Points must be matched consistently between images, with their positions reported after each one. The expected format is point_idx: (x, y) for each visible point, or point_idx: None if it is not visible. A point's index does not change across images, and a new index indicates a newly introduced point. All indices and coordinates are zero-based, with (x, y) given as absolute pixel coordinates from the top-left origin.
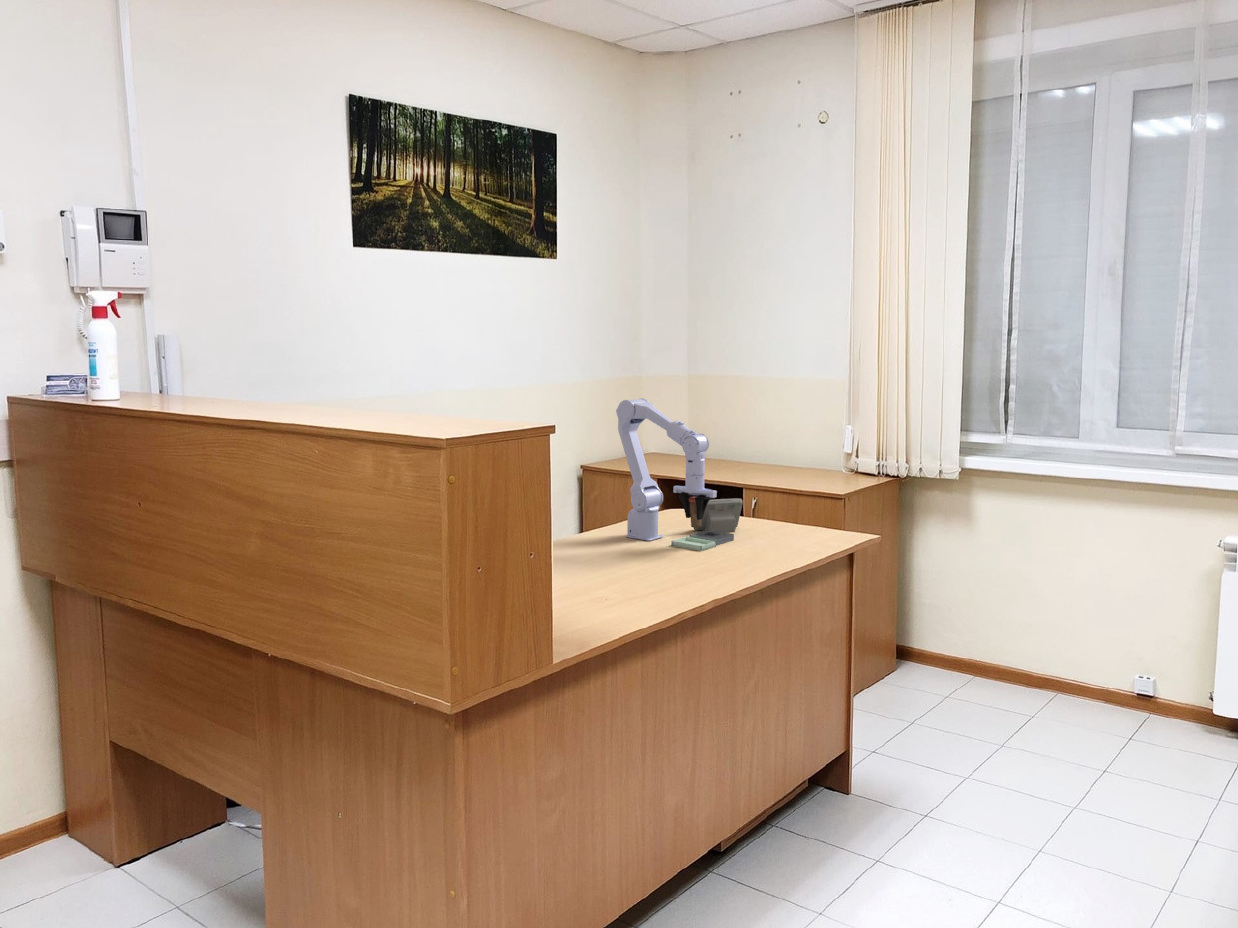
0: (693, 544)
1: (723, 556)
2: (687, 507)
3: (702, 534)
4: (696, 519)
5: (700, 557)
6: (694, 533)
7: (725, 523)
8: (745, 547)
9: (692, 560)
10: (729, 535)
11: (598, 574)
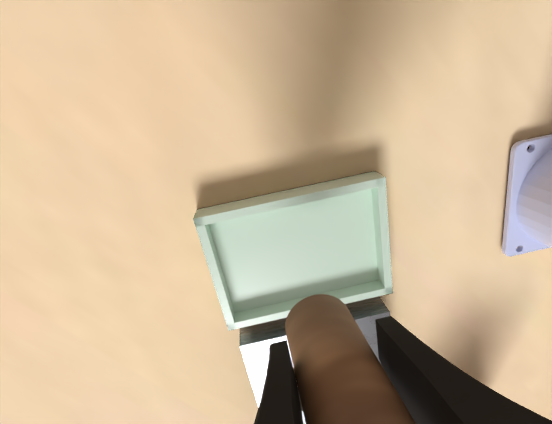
0: (249, 212)
1: (43, 221)
2: (428, 396)
3: None
4: (302, 343)
5: (81, 108)
6: None
7: None
8: (147, 389)
9: (34, 8)
10: None
11: None
